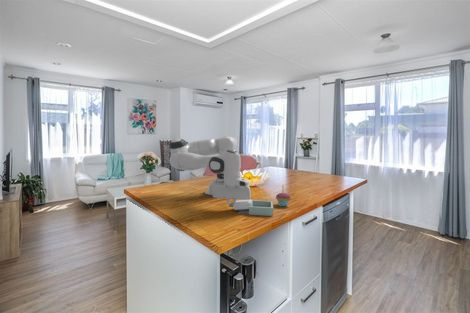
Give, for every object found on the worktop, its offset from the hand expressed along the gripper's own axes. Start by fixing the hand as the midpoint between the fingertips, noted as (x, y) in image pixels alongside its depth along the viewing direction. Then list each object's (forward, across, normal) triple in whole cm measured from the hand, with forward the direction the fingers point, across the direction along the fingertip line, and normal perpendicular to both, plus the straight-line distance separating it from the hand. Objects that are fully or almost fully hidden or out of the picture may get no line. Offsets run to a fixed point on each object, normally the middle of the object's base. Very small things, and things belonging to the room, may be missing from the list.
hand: (231, 206), depth 127 cm
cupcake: (+2, +28, +14) cm, 32 cm away
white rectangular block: (+1, +7, 0) cm, 7 cm away
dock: (+2, +13, 0) cm, 13 cm away
